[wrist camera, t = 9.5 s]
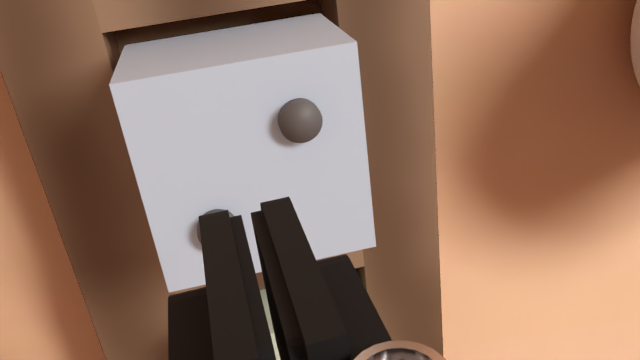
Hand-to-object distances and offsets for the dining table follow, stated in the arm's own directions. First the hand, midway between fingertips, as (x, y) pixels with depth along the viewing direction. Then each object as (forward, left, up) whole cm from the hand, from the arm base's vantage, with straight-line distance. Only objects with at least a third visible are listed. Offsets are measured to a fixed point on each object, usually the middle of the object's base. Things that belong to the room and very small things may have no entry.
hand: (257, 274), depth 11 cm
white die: (-1, 0, -9) cm, 9 cm away
